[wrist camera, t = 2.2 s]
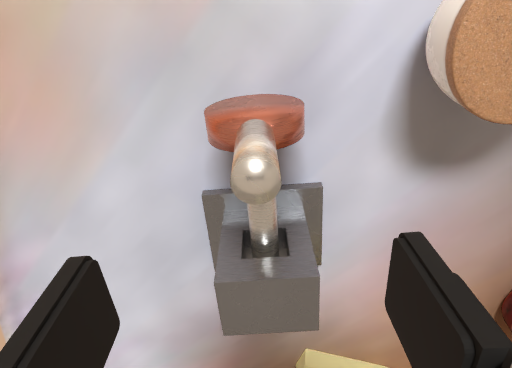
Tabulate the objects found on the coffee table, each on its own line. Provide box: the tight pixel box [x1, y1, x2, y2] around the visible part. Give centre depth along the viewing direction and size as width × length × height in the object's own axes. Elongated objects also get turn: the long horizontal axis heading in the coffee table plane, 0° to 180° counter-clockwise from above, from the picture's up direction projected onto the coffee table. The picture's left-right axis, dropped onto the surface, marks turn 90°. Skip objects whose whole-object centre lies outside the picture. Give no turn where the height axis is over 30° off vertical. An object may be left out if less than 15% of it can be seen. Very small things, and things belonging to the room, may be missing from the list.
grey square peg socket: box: [202, 182, 323, 336], centre depth 32 cm, size 10×12×11 cm
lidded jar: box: [426, 0, 512, 124], centre depth 23 cm, size 11×11×9 cm
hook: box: [204, 94, 304, 259], centre depth 26 cm, size 20×7×13 cm, turn 4°
